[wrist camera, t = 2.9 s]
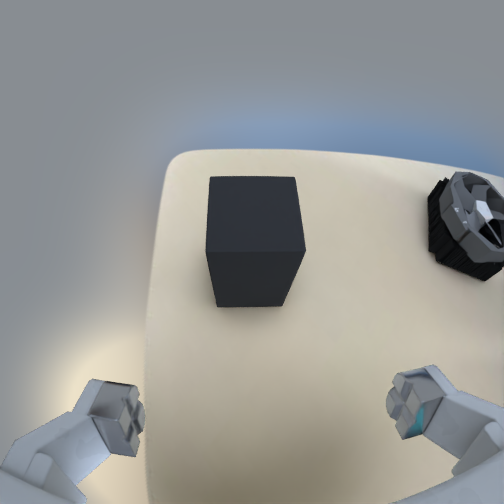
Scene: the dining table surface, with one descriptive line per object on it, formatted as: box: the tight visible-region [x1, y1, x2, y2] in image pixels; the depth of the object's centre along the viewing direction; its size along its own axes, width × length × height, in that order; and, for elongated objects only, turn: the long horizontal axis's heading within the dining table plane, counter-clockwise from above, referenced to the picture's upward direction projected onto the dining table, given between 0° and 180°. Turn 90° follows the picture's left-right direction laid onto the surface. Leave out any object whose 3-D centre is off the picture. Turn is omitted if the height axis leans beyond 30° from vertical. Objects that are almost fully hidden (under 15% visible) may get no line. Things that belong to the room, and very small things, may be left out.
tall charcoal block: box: [205, 176, 306, 307], centre depth 20 cm, size 5×5×9 cm
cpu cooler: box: [428, 172, 504, 281], centre depth 24 cm, size 10×6×10 cm
